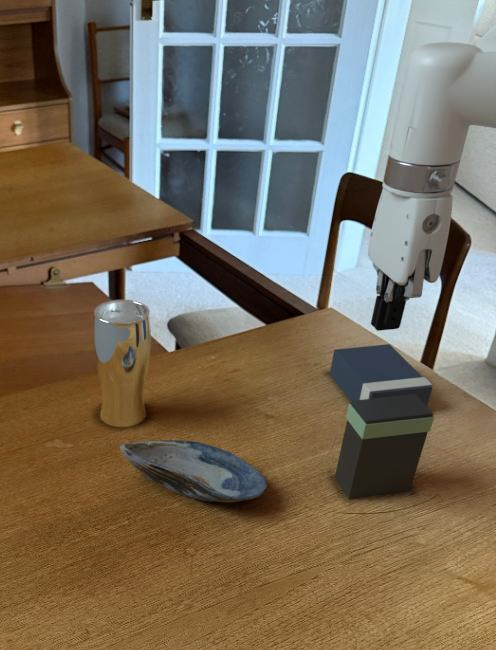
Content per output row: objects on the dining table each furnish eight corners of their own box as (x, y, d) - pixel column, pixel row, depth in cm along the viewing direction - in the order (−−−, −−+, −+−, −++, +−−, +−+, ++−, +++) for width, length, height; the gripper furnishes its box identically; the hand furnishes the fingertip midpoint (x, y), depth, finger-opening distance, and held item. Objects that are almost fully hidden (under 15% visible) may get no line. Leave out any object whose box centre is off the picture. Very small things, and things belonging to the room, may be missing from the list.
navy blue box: (390, 343, 101) (434, 386, 92) (383, 373, 104) (424, 418, 95) (333, 348, 101) (371, 392, 91) (327, 379, 104) (363, 425, 94)
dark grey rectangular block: (393, 475, 86) (415, 393, 79) (410, 497, 83) (435, 413, 76) (331, 482, 85) (349, 400, 78) (346, 505, 82) (366, 421, 75)
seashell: (135, 538, 79) (135, 502, 75) (117, 469, 88) (116, 434, 85) (274, 522, 80) (280, 485, 77) (242, 455, 90) (246, 421, 87)
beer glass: (156, 409, 98) (158, 302, 89) (140, 438, 93) (141, 327, 84) (106, 401, 100) (103, 295, 90) (88, 429, 95) (83, 319, 85)
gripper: (487, 192, 77) (441, 351, 89) (419, 154, 89) (386, 300, 100) (420, 197, 77) (382, 357, 88) (360, 158, 88) (333, 305, 100)
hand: (384, 326), depth 94 cm, fingers closed
